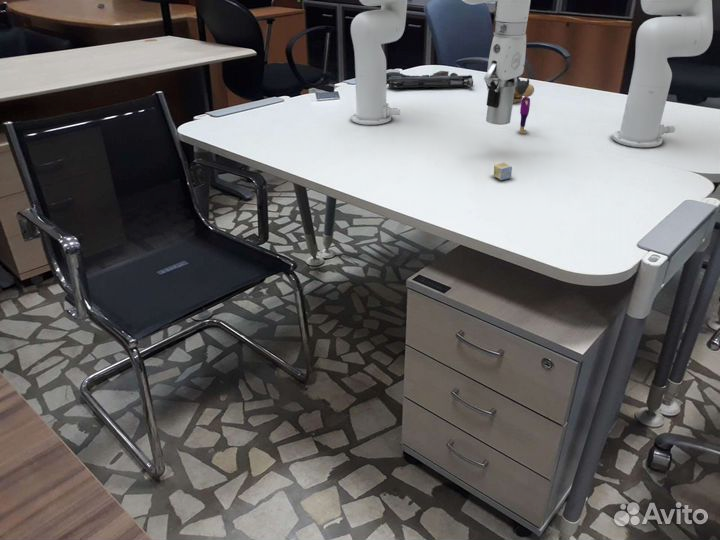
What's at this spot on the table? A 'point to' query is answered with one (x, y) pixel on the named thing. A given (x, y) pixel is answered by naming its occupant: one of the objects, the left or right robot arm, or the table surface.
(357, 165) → the table surface
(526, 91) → the toy
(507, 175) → the alphabet block
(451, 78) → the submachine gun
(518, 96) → the burger
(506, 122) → the can
